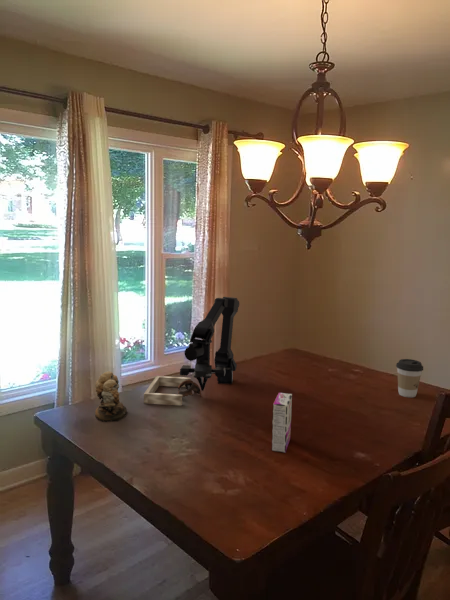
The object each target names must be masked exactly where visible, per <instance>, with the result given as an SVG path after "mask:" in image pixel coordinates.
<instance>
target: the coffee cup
mask: <svg viewBox="0 0 450 600" xmlns="http://www.w3.org/2000/svg"><path fill="white" fill-rule="evenodd" d="M395 367H396V370H397V390H398V395H399V396H401V397H404V398H415V397H416V396H417V393H418V389H419V386H420V381H421V376H422V373H423V371H424V366H423V364H422V362H421V361H419V360H416V359H413V358H411V359H410V358H401V359H399V360H398V361H397V363H396V365H395Z"/></svg>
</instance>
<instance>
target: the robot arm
mask: <svg viewBox="0 0 450 600" xmlns="http://www.w3.org/2000/svg"><path fill="white" fill-rule="evenodd" d="M239 307H240V300H239V299H238V298H237V297H233V296H231V297H230V296H223V297H216V298H215V299H214V303H213V305H212V306H211V308H210V309H209V311H208V313H207V314H206V316H205V317H204V319H203V320H201V321H199V322H198V323H197V324H196V326H195V327H194V329H193V331H192V335H191V336H190V338H189V344H188V346H187V347H186V348H185V350H184V357H185V358H186V360H188V361H190V362H194V361H195V360H196V361H195V365H194V368H193V367H192V366H191V365H185V364H183V365H182V366H181V367H180V369H179V376H185V377H186V376H188V375H189V374H191V373H192V374H193V379H194V378H196V379H197V382H198V384H199V388H200V391H201V392H204V389H205V388H206V384H207V382H208V380H209V379H211V378H212V376H213V375H214V376H215V377H217V378H216V380H217V384H221V385H224V384H225V385H232V384H233V383H234V382H233V381H234V379H233V377H234V376H233V375H234V373H233V372H236V370H237V366H238V365H237V363H236V361H235V359H234V352H233V350H232V349H231V346H232V340H233V339H232V337H233V336H232V335H233V330H234V329H233V326H234V318H235V316H236V314H237V313H238V312H239ZM221 315H222V322H221V335H220V345H219V348H218V350H217V351H215V353H214V360H213V361H214V368H213V367H212V365H211V363H210V361H211V344H212V343H213V340H212V338H213V336H214V333H215V325H216V324H217V322H218V320H219V318H220V316H221Z"/></svg>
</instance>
